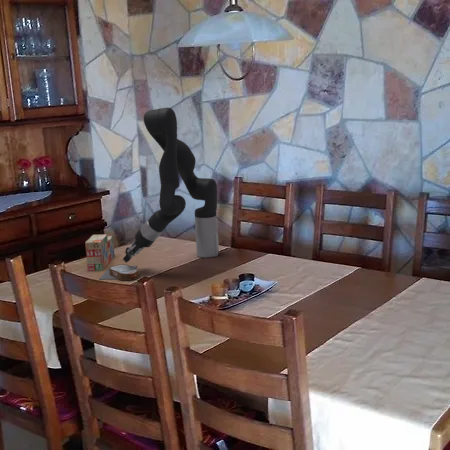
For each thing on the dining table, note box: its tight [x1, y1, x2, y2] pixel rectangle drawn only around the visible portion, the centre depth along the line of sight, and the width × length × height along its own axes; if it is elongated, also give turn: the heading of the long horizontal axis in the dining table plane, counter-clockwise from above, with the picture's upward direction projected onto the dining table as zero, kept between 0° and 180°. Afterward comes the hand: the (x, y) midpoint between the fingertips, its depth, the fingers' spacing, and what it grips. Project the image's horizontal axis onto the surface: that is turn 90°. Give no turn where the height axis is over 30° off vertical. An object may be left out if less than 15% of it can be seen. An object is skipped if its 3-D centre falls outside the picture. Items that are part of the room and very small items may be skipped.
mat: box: [98, 265, 138, 281], centre depth 252 cm, size 11×17×1 cm, turn 174°
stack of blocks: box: [84, 233, 116, 272], centre depth 265 cm, size 21×6×12 cm, turn 176°
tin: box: [108, 264, 140, 281], centre depth 247 cm, size 15×3×8 cm
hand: (125, 260), depth 253 cm, fingers closed
